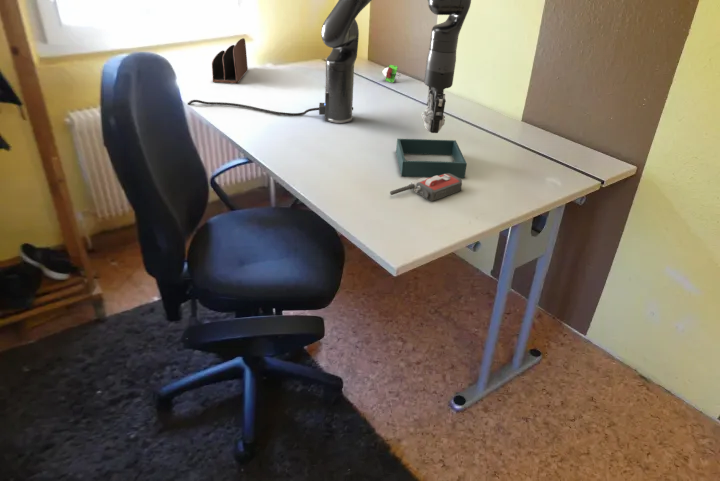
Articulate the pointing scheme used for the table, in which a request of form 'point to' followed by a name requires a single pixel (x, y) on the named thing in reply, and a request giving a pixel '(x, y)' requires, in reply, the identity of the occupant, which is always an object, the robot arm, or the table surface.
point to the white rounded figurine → (427, 119)
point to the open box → (430, 167)
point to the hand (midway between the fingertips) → (432, 127)
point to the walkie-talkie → (434, 186)
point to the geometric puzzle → (390, 73)
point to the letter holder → (230, 64)
